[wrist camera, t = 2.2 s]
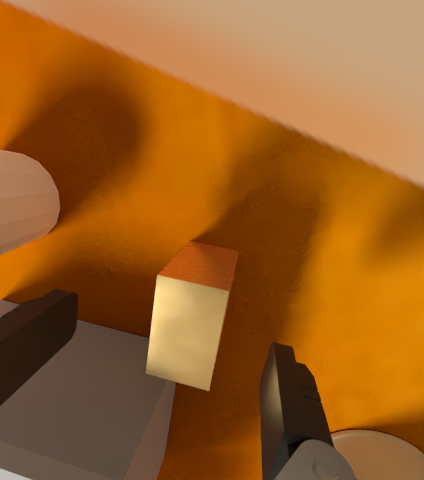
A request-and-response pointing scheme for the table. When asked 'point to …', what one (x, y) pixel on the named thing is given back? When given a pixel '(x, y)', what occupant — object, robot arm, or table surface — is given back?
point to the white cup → (25, 201)
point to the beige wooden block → (190, 314)
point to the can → (379, 455)
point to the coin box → (88, 412)
